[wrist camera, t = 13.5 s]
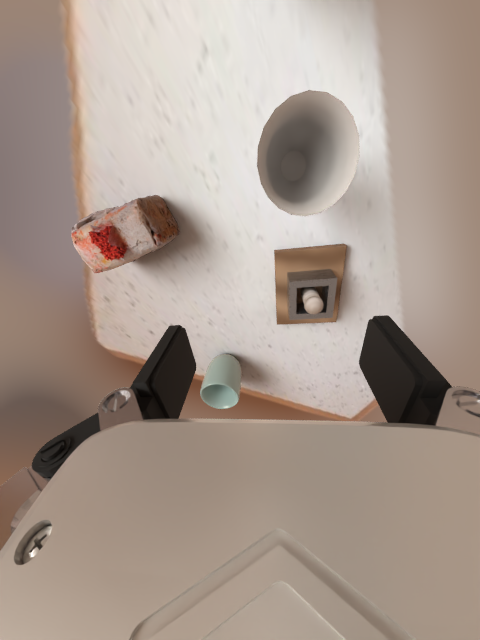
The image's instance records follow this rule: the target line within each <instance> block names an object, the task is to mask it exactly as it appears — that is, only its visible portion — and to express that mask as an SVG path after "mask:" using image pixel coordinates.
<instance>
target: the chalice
mask: <svg viewBox="0 0 480 640" xmlns="http://www.w3.org/2000/svg"><path fill="white" fill-rule="evenodd" d="M358 159H359V134H358V131H357V127H356V124H355V121H354V118H353V116H352V114H351V113H350V112H349V110H348V109H347V108H346V106H345V105H344V103H343V102H342V101H340V100H339V99H337V98H335V97H334V96H332V95H331V94H329V93H327V92H320V91H311V90H308V91H305V92H302V93H299V94H296V95H293V96H291V97H289V98H288V99H287V100H286V101H285V102H283V103H282V104H281V105H280V106H279V107H277V108H276V109H275V110H274V112H273V114H272V115H271V117H270V118H269V120H268V121H267V123H266V125H265V126H264V128H263V132H262V135H261V138H260V142H259V145H258V160H257V167H258V172H259V176H260V181H261V184H262V186H263V188H264V190H265V192H266V194H267V196H268V198H269V199H270V200H271V201H272V202H273V203H274V204H275V205H276V206H277V207H278V208H279V209H281V210H283V211H285V212H287V213H289V214H291V215H299V216H309V215H313V214H318V213H321V212H322V211H324V210H326V209H328V208H329V207H331V206H333V205H334V204H335V203H336V202H337V201H338V200H339V199H340V198H341V196H342V195H343V194H344V193H345V192H346V190H347V189H348V187H349V185H350V183H351V181H352V179H353V177H354V175H355V172H356V168H357V163H358Z"/></svg>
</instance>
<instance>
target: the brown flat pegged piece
mask: <svg viewBox="0 0 480 640" xmlns="http://www.w3.org/2000/svg"><path fill="white" fill-rule="evenodd" d="M346 248H347V246H346V245H345V244H336V245H325V246H315V247H304V248H293V249H282V250H274V253H275V282H276V311H277V324H299V323H321V322H336V320H337V313H338V306H339V299H340V291H341V284H342V277H343V270H344V263H345V256H346ZM323 269H331V270H332V271H333V273H334V274H335V276H336V277H337V286H336V294H335V302H334V311H333V318H320V319H300V320H289V314H288V305H287V272H298V271H310V270H323ZM321 296H322V286H316V287H302V288H297V297H296V303H298V302H304V308H305V310H306V311H307V312H308V313H310V314H318V313H319V312H321V311H322V309H323V301H322V300H321Z"/></svg>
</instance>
